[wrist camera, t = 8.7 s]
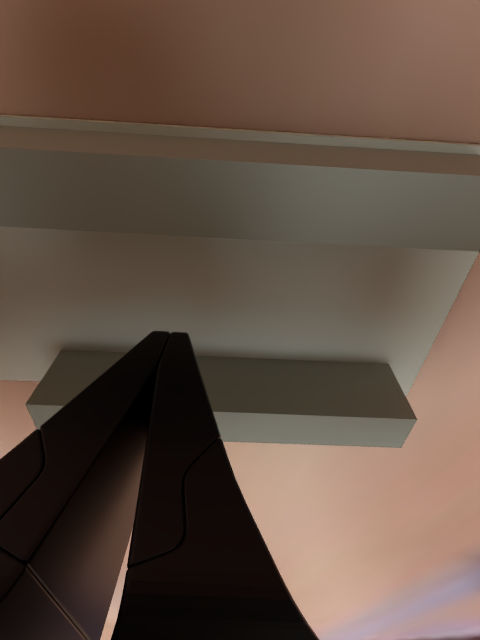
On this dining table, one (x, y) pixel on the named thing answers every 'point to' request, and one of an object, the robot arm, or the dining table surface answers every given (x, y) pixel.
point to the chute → (235, 266)
